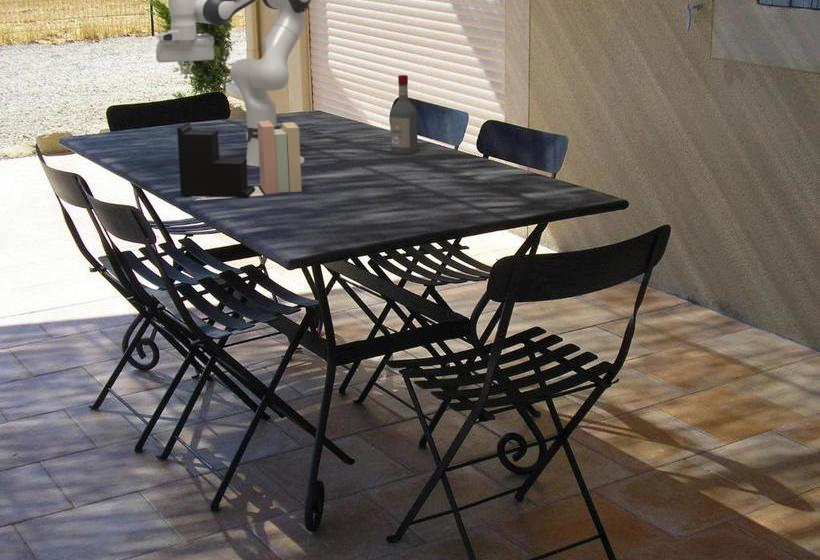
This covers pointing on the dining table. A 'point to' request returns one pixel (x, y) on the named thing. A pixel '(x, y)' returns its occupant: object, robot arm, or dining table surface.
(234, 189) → the black drawer cabinet
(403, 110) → the liquor
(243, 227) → the dining table surface
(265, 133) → the book row
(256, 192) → the cream mat
